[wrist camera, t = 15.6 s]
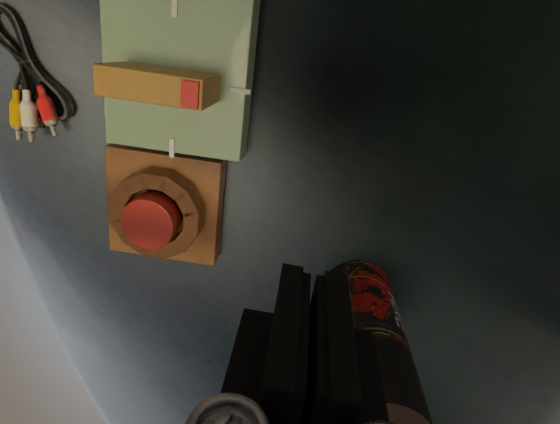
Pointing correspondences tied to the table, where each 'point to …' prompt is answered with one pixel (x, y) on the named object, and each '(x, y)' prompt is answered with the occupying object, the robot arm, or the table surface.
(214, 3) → the green lever base
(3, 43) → the composite cable
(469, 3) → the table surface
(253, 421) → the robot arm
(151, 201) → the button
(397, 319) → the deodorant
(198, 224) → the button block
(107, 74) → the lock lever
